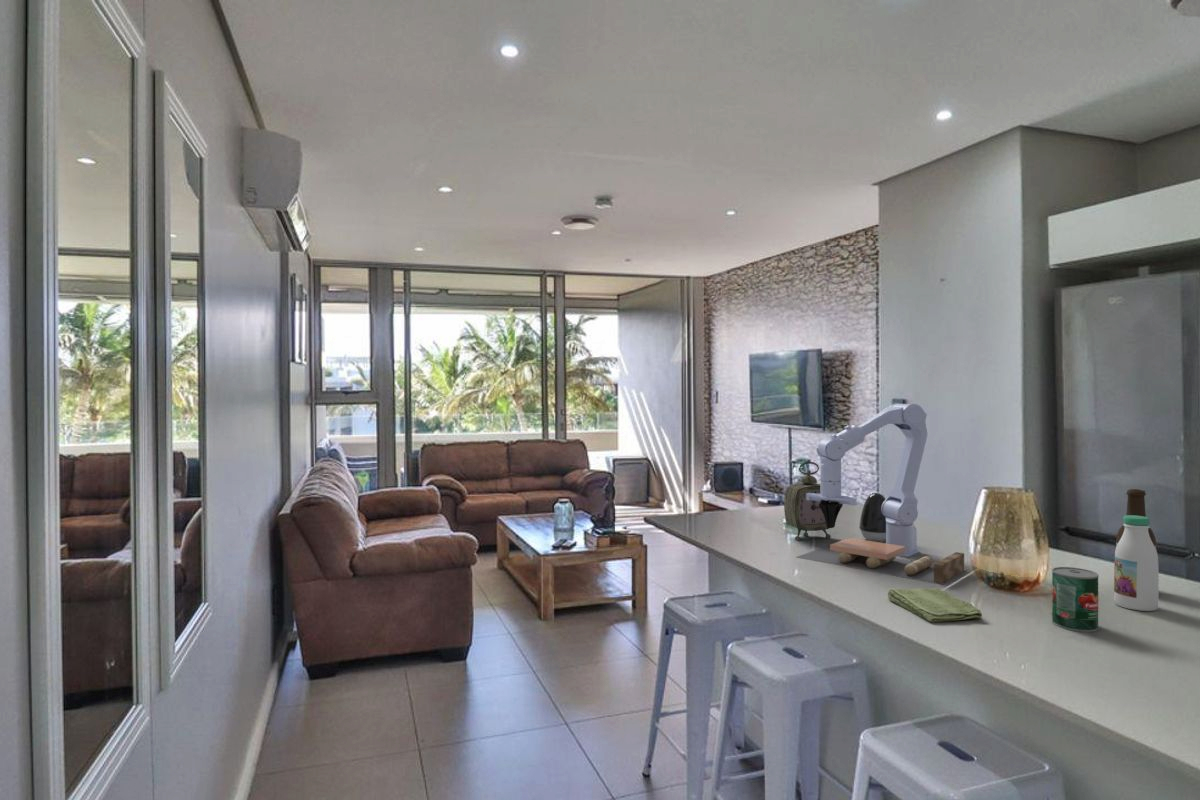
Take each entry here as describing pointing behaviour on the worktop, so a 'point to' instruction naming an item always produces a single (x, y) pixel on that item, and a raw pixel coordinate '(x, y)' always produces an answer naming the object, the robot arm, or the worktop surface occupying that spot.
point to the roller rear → (847, 557)
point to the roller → (918, 565)
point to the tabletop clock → (804, 505)
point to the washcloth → (933, 604)
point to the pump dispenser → (873, 519)
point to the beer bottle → (1135, 511)
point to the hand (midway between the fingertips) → (830, 527)
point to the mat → (888, 568)
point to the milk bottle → (1136, 567)
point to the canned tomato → (1075, 599)
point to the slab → (868, 548)
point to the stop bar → (948, 567)
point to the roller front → (877, 562)
